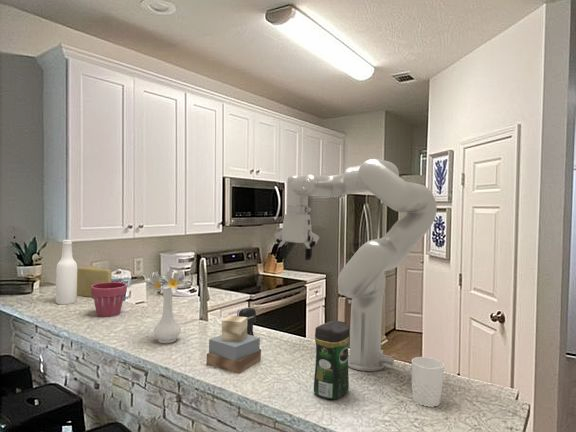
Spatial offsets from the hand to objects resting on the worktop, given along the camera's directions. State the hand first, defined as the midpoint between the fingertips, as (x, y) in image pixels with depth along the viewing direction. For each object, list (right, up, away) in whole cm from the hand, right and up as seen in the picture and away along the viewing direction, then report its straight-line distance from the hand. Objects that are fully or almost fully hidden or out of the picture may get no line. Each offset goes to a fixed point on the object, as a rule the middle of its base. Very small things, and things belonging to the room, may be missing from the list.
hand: (295, 258), depth 146 cm
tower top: (-19, -27, -19) cm, 38 cm away
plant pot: (-81, -28, +32) cm, 91 cm away
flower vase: (-46, -29, -1) cm, 55 cm away
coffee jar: (+9, -32, -38) cm, 50 cm away
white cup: (+33, -32, -41) cm, 62 cm away
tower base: (-19, -31, -19) cm, 41 cm away
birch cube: (-19, -23, -19) cm, 35 cm away
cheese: (-100, -27, +63) cm, 121 cm away
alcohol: (-108, -26, +49) cm, 122 cm away
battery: (-18, -30, +3) cm, 35 cm away
